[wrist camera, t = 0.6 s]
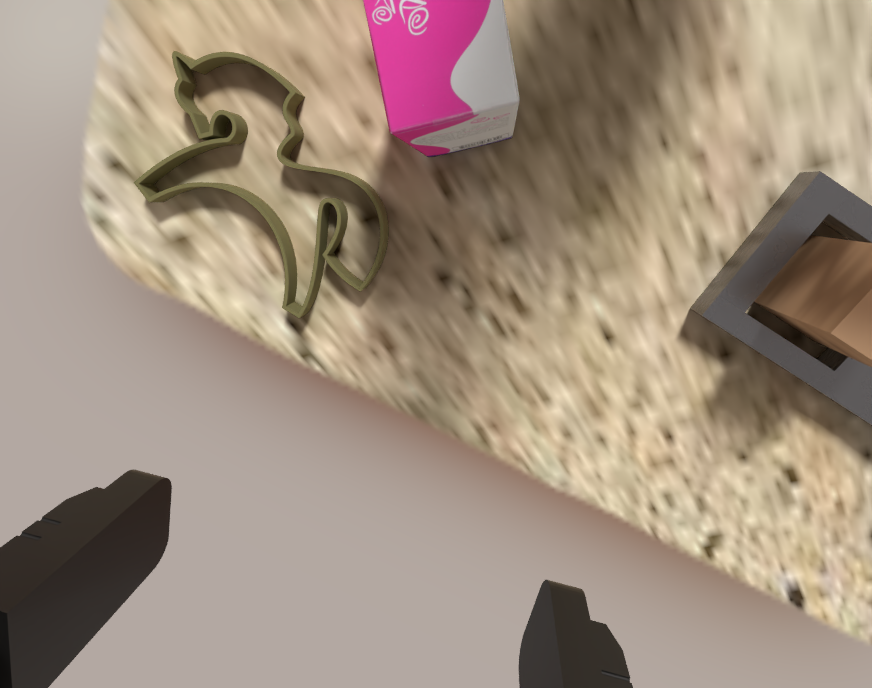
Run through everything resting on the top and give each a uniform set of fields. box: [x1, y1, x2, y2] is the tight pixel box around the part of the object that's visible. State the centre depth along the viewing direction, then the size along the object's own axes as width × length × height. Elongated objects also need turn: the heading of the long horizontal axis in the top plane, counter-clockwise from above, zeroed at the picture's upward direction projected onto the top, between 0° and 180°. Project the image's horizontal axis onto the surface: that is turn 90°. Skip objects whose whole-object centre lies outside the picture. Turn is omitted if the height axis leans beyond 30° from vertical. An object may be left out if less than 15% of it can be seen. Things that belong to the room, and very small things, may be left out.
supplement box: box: [363, 0, 519, 157], centre depth 26 cm, size 6×6×12 cm
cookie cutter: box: [134, 51, 389, 318], centre depth 34 cm, size 18×12×2 cm, turn 50°
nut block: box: [754, 235, 872, 367], centre depth 29 cm, size 5×5×8 cm
